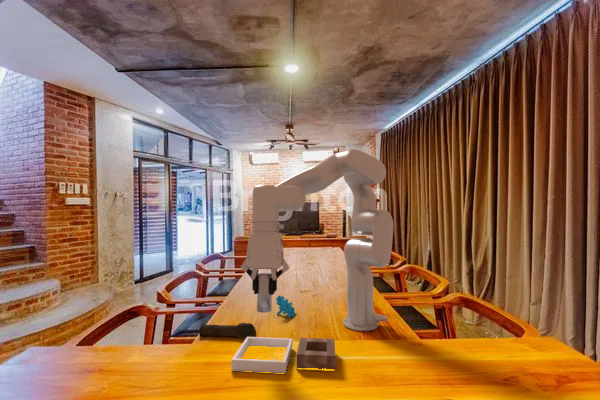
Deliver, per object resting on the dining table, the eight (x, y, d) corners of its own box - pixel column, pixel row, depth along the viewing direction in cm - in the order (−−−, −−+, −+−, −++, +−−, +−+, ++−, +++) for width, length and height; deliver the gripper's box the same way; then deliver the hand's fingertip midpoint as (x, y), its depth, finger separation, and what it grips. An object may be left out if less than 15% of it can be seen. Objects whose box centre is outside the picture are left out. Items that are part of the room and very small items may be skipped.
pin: (272, 308, 80) (273, 272, 81) (269, 312, 76) (270, 275, 77) (259, 307, 81) (259, 272, 81) (255, 312, 77) (256, 275, 77)
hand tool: (197, 338, 92) (198, 324, 92) (203, 333, 96) (203, 319, 96) (253, 342, 89) (253, 327, 90) (257, 336, 93) (257, 322, 94)
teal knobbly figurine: (289, 317, 106) (274, 295, 111) (278, 327, 107) (264, 305, 111) (301, 312, 116) (286, 292, 120) (291, 321, 117) (277, 301, 121)
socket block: (334, 353, 81) (334, 339, 82) (335, 372, 71) (335, 356, 72) (300, 351, 82) (300, 337, 83) (296, 370, 72) (296, 354, 73)
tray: (292, 348, 84) (292, 338, 84) (285, 374, 70) (285, 362, 70) (247, 346, 85) (247, 336, 86) (231, 371, 72) (231, 359, 72)
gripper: (295, 228, 83) (295, 291, 82) (241, 227, 85) (239, 289, 83) (292, 229, 76) (292, 298, 74) (232, 228, 77) (231, 296, 76)
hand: (264, 292), depth 79 cm, fingers closed on pin, 4 cm apart
